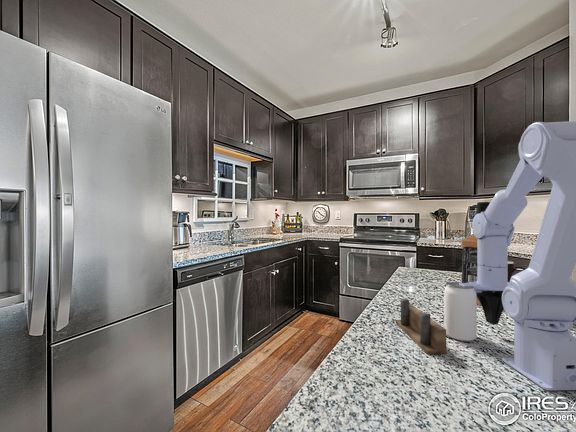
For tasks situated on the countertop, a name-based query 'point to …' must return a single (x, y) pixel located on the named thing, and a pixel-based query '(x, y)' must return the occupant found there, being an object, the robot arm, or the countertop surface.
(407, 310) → the rail
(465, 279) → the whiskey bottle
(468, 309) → the can
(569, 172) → the robot arm
